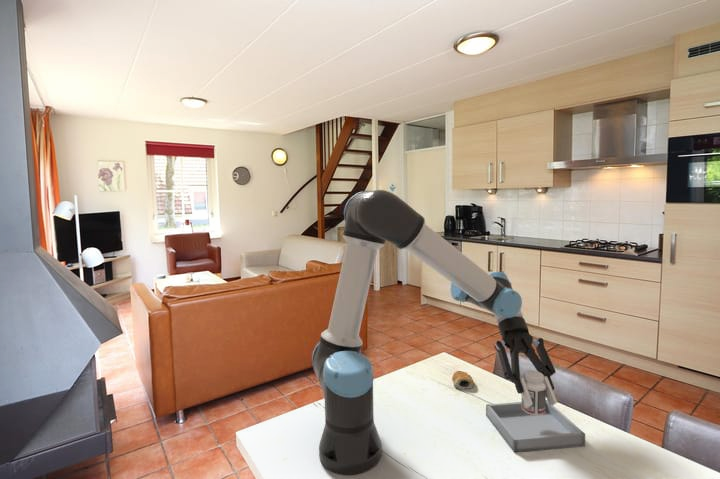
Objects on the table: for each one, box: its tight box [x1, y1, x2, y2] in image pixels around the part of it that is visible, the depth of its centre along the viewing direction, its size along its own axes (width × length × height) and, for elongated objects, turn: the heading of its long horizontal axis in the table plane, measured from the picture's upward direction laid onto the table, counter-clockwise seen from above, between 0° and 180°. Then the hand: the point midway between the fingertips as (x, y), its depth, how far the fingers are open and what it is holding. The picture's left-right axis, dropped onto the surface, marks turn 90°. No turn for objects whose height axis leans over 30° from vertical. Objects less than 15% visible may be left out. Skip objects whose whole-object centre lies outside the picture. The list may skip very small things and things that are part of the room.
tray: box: [485, 399, 586, 454], centre depth 100 cm, size 18×16×3 cm
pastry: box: [451, 370, 475, 390], centre depth 126 cm, size 9×7×4 cm
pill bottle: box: [521, 369, 547, 416], centre depth 99 cm, size 6×6×10 cm
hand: (541, 404), depth 96 cm, fingers closed on pill bottle, 6 cm apart
